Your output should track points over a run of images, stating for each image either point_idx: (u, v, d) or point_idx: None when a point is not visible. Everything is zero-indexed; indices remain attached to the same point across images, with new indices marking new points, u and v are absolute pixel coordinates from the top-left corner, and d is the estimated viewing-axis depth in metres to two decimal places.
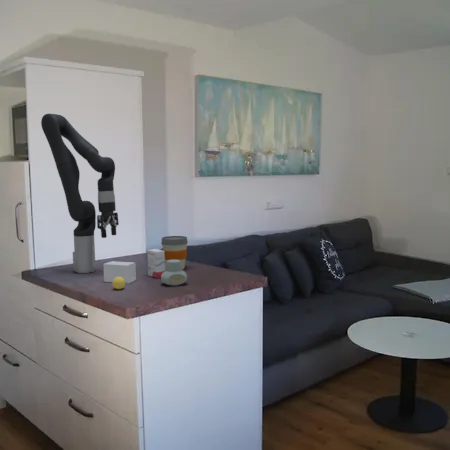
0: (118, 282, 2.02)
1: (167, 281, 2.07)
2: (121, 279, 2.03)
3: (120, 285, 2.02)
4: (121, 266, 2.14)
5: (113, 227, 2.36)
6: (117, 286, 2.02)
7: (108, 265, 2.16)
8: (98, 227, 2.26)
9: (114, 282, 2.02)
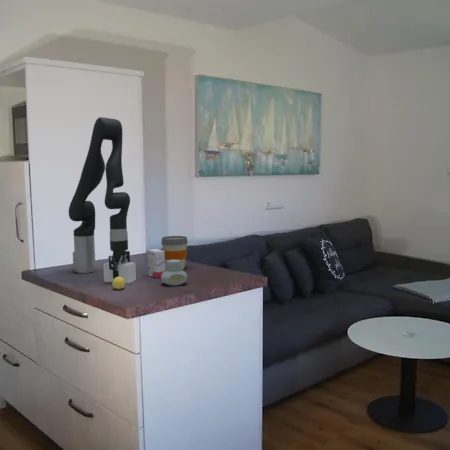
0: (118, 282, 2.02)
1: (167, 281, 2.07)
2: (121, 279, 2.03)
3: (120, 285, 2.02)
4: (121, 266, 2.14)
5: None
6: (117, 286, 2.02)
7: (108, 265, 2.16)
8: (110, 268, 2.12)
9: (114, 282, 2.02)
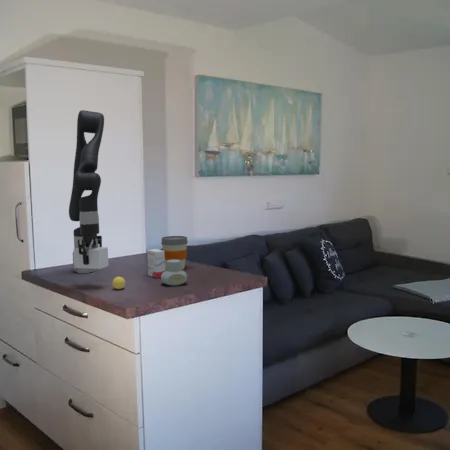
0: (118, 282, 2.02)
1: (167, 281, 2.07)
2: (121, 279, 2.03)
3: (120, 285, 2.02)
4: (92, 251, 2.02)
5: None
6: (117, 286, 2.02)
7: (78, 250, 2.04)
8: (80, 253, 2.01)
9: (114, 282, 2.02)
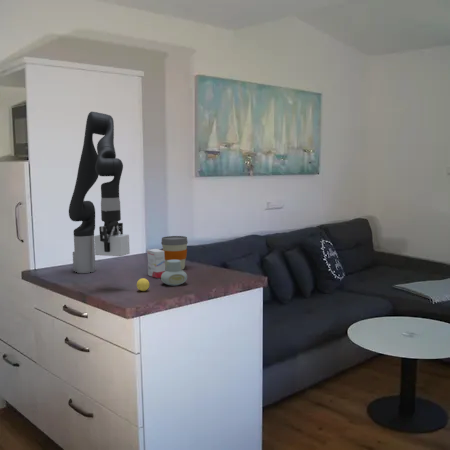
0: (137, 284, 1.99)
1: (167, 281, 2.07)
2: None
3: (140, 281, 1.99)
4: (113, 238, 1.98)
5: None
6: (141, 283, 1.98)
7: (99, 237, 2.00)
8: (101, 240, 1.97)
9: (139, 288, 1.99)
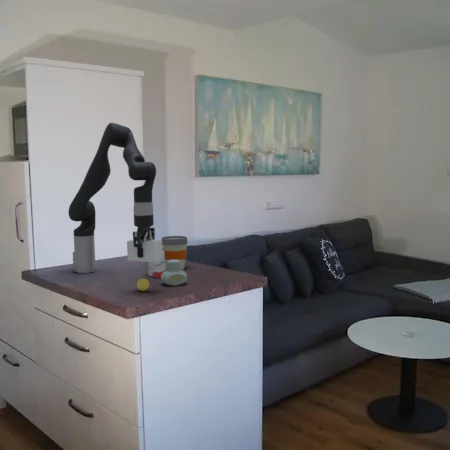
0: (137, 284, 1.99)
1: (167, 281, 2.07)
2: None
3: (140, 281, 1.99)
4: (147, 243, 1.94)
5: None
6: (141, 283, 1.98)
7: (132, 242, 1.96)
8: (134, 245, 1.93)
9: (139, 288, 1.99)
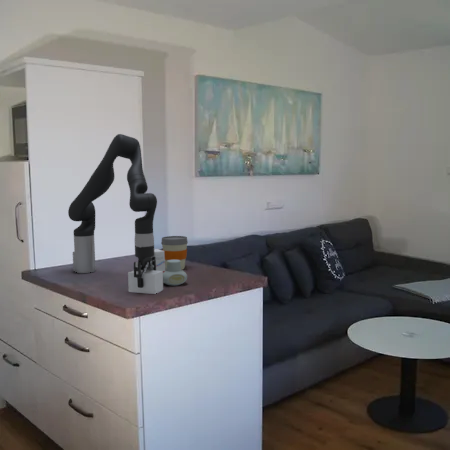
0: None
1: (167, 281, 2.07)
2: None
3: None
4: (148, 275, 1.96)
5: None
6: None
7: (133, 274, 1.98)
8: (134, 276, 1.93)
9: None
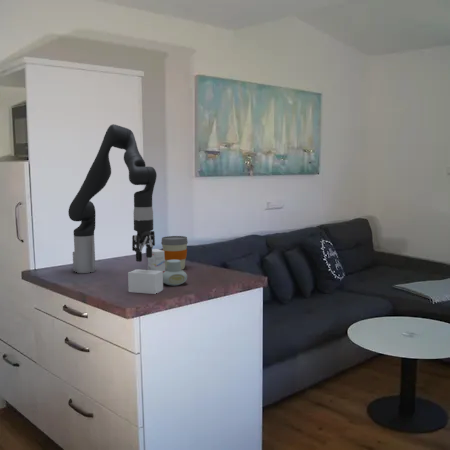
0: None
1: (167, 281, 2.07)
2: None
3: None
4: (148, 275, 1.96)
5: (149, 248, 2.02)
6: None
7: (133, 274, 1.98)
8: (133, 249, 1.92)
9: None
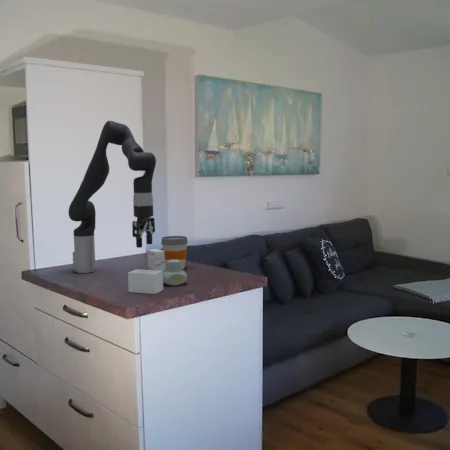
0: None
1: (167, 281, 2.07)
2: None
3: None
4: (148, 275, 1.96)
5: (149, 235, 2.02)
6: None
7: (133, 274, 1.98)
8: (133, 235, 1.91)
9: None
